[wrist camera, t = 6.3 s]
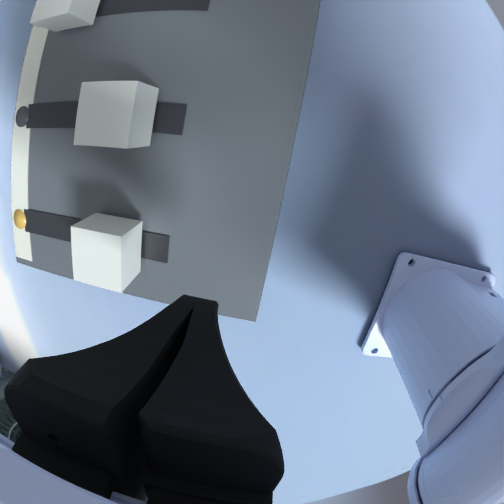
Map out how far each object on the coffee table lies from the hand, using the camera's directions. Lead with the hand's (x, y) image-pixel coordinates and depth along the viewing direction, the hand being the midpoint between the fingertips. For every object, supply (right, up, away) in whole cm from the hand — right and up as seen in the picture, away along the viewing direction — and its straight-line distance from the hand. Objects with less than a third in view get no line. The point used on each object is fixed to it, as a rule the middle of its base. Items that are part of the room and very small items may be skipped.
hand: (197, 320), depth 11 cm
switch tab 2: (-6, +3, +5) cm, 8 cm away
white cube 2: (-4, +9, +2) cm, 11 cm away
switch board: (-5, +11, +5) cm, 12 cm away
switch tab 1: (-8, +17, 0) cm, 19 cm away
